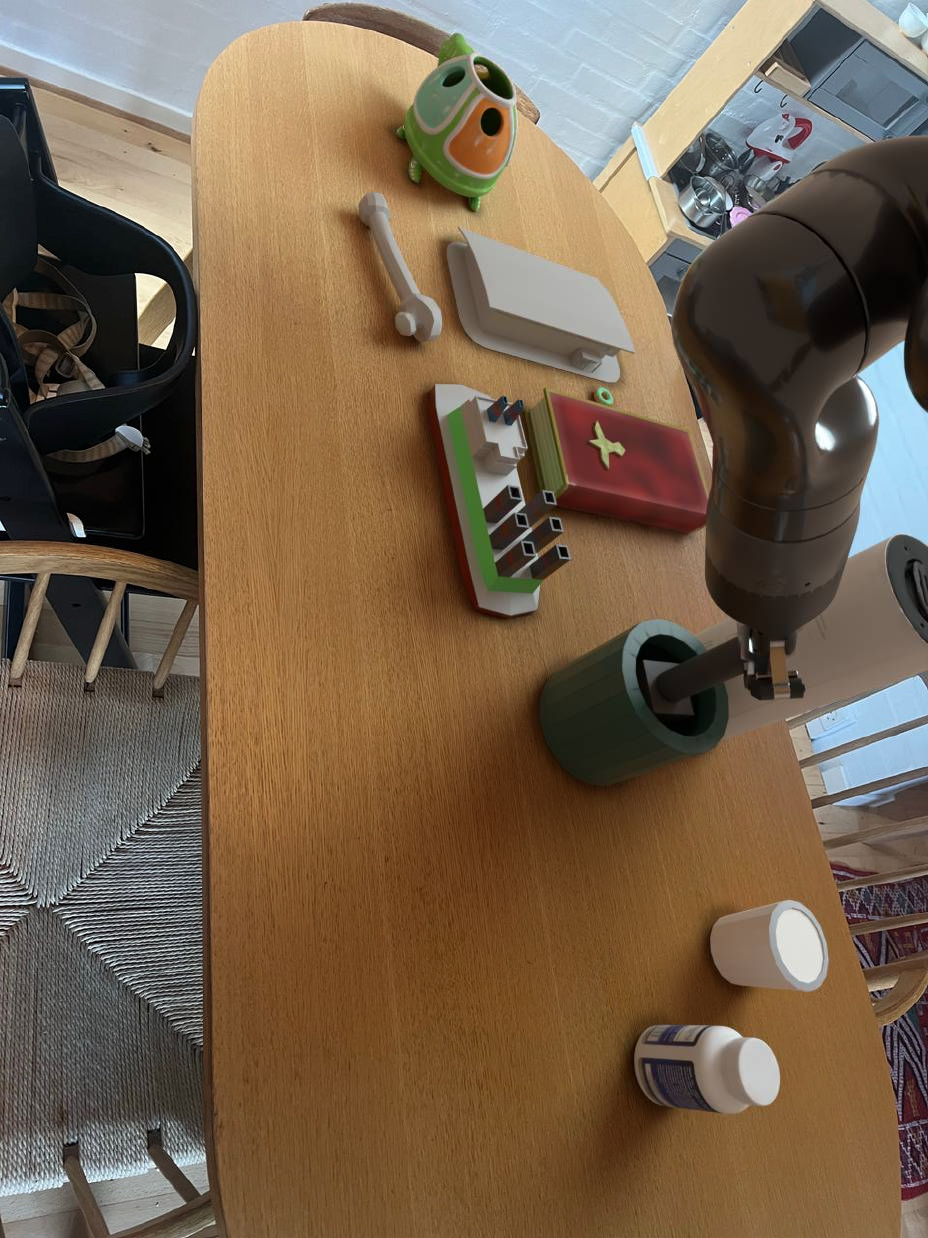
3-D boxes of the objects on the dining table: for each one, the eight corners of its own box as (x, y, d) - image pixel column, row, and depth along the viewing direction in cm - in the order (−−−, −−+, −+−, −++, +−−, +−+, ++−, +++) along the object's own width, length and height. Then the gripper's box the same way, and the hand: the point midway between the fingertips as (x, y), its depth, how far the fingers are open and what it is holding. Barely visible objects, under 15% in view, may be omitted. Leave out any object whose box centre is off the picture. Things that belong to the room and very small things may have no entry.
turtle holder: (466, 122, 100) (517, 32, 90) (494, 226, 93) (552, 140, 84) (380, 84, 93) (425, -18, 84) (403, 193, 87) (455, 95, 78)
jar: (649, 785, 70) (743, 754, 62) (550, 786, 64) (639, 752, 56) (624, 669, 74) (709, 626, 66) (530, 661, 69) (609, 611, 60)
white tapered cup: (759, 1005, 66) (829, 1005, 61) (700, 976, 64) (768, 973, 59) (763, 925, 70) (830, 918, 65) (708, 895, 68) (772, 886, 63)
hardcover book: (690, 536, 88) (718, 518, 85) (543, 507, 78) (568, 485, 74) (666, 449, 93) (691, 428, 90) (523, 410, 82) (546, 385, 79)
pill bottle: (680, 1116, 58) (785, 1132, 51) (626, 1091, 57) (726, 1103, 49) (689, 1039, 61) (790, 1043, 54) (638, 1013, 60) (734, 1014, 52)
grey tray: (625, 387, 94) (646, 366, 91) (464, 341, 82) (483, 316, 79) (596, 290, 99) (616, 268, 96) (442, 234, 87) (459, 207, 84)
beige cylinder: (715, 769, 75) (990, 681, 55) (635, 720, 72) (893, 609, 52) (724, 680, 81) (974, 572, 61) (650, 632, 78) (886, 501, 58)
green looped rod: (658, 445, 93) (664, 441, 92) (591, 401, 89) (597, 396, 88) (659, 431, 94) (665, 426, 93) (593, 387, 90) (599, 382, 89)
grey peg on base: (668, 725, 64) (811, 668, 53) (628, 723, 62) (769, 663, 51) (656, 675, 66) (793, 610, 55) (618, 672, 64) (752, 603, 53)
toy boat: (469, 617, 67) (520, 578, 61) (422, 383, 76) (462, 329, 70) (540, 619, 71) (594, 583, 65) (488, 398, 80) (531, 347, 74)
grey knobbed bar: (435, 354, 79) (454, 329, 76) (391, 347, 76) (408, 320, 73) (394, 219, 84) (409, 191, 81) (350, 208, 81) (365, 178, 78)
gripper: (879, 642, 38) (828, 752, 53) (827, 426, 45) (794, 577, 59) (720, 654, 40) (714, 757, 55) (693, 445, 47) (693, 587, 61)
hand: (756, 663), depth 57 cm, fingers closed on grey peg on base, 2 cm apart
